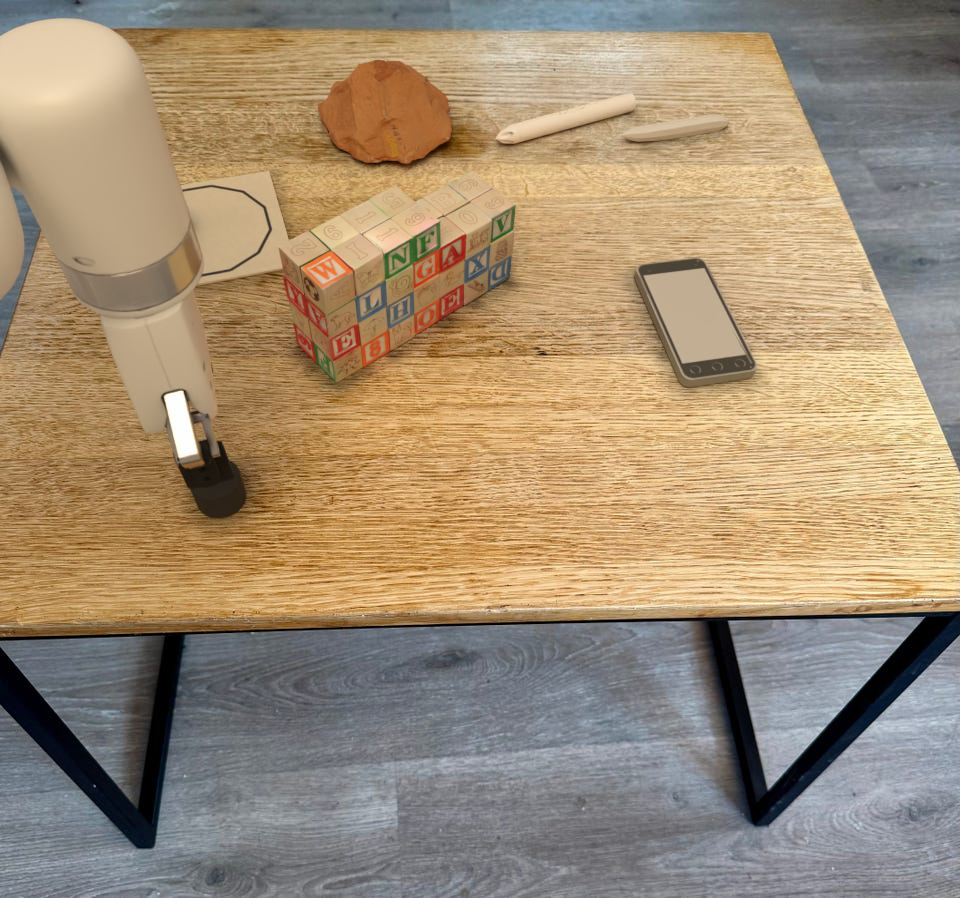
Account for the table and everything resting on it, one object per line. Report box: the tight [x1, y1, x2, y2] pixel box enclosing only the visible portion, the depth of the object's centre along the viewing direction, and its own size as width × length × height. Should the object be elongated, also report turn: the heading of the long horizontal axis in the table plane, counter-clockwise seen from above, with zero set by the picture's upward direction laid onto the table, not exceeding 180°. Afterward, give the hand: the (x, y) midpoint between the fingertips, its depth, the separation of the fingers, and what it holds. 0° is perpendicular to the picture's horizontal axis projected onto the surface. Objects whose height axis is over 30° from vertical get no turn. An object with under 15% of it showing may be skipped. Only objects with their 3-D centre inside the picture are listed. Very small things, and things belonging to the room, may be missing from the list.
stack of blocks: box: [279, 171, 516, 383], centre depth 79 cm, size 21×6×12 cm, turn 131°
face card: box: [180, 170, 290, 287], centre depth 89 cm, size 16×15×1 cm
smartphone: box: [633, 257, 758, 388], centre depth 84 cm, size 7×1×15 cm
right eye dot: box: [189, 459, 247, 519], centre depth 70 cm, size 4×4×3 cm
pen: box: [619, 113, 730, 143], centre depth 101 cm, size 2×14×2 cm, turn 108°
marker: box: [495, 92, 637, 145], centre depth 100 cm, size 18×2×2 cm, turn 116°
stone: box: [317, 59, 453, 165], centre depth 97 cm, size 15×15×10 cm
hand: (201, 426), depth 64 cm, fingers open, 9 cm apart
